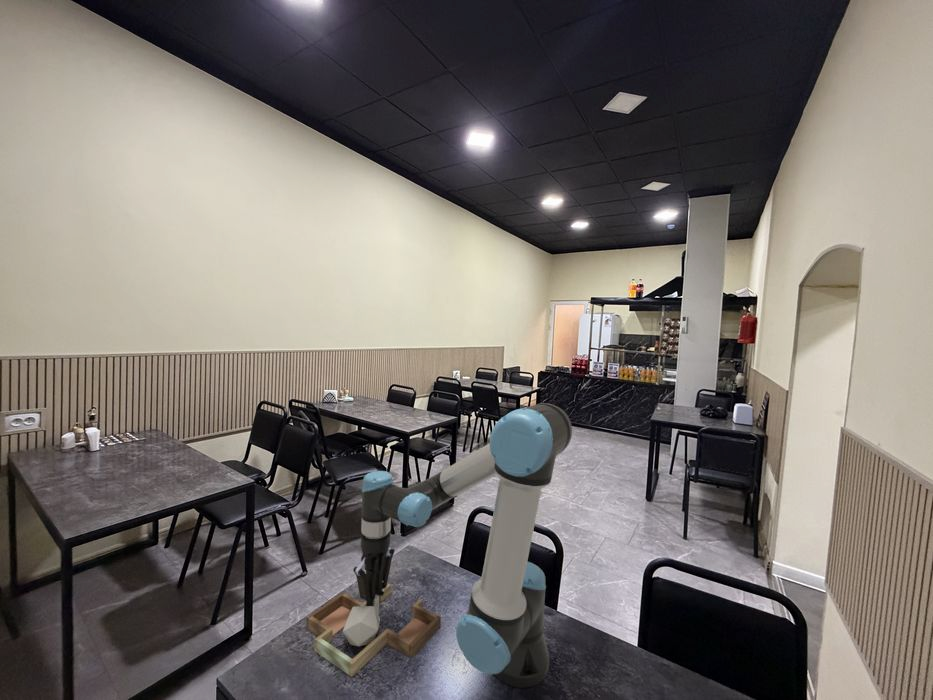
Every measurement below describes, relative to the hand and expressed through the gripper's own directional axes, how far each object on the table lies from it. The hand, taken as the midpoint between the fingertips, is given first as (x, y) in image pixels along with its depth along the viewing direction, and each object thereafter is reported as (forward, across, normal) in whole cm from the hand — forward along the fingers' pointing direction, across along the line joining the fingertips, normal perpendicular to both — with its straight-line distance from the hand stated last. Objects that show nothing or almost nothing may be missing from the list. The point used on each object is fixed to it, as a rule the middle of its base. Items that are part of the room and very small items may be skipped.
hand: (372, 619), depth 102 cm
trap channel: (+3, 0, 0) cm, 3 cm away
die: (+2, +4, 0) cm, 5 cm away
